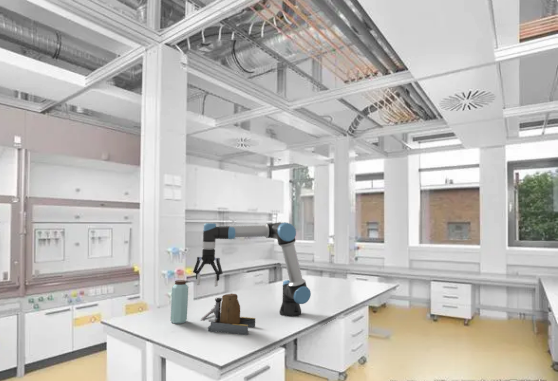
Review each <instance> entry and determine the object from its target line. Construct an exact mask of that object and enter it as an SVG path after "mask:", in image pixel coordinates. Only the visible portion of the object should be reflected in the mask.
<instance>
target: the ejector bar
mask: <svg viewBox="0 0 558 381" xmlns="http://www.w3.org/2000/svg"><path fill="white" fill-rule="evenodd" d="M214 301H215V305H216V309H215V314H214V318H210V319H208V323H211V322H217V323H220V316H221V303H222V297H215V298H214Z"/></svg>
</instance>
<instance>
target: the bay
mask: <svg viewBox="0 0 558 381" xmlns="http://www.w3.org/2000/svg"><path fill="white" fill-rule="evenodd" d="M249 328H256V318H255V317H248V316H240V323H239V324H228V323H217V322H210V325H208V327H207V332H211V333H212V332H214V333H223V334H232V335H241V336H242V335H245V336H248V334H249Z"/></svg>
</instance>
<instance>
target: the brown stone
mask: <svg viewBox="0 0 558 381" xmlns="http://www.w3.org/2000/svg"><path fill="white" fill-rule="evenodd" d="M221 298H222V301H221V311H220V313H221V316H220V323H228V324H239V323H240V317H241V305H240V302H239V300H238V298H239V297H238V295H237V294H236V293H226V294H223V295H222V296H221Z"/></svg>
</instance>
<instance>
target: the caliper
mask: <svg viewBox="0 0 558 381" xmlns="http://www.w3.org/2000/svg"><path fill="white" fill-rule="evenodd" d="M215 309H216V304H215V305H214V307H213V308H211V309H210V310H209V311H208V312H206V314H204V316H202V317H201V319H200V321H205V319H207V317H209V316H210V315H212V314H214V315H215Z"/></svg>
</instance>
